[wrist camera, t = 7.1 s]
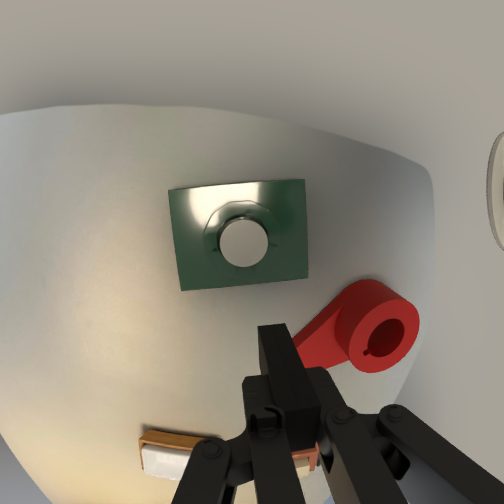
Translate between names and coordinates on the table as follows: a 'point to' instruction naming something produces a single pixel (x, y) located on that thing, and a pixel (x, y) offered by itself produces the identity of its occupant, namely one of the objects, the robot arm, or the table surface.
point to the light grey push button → (243, 242)
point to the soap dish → (165, 453)
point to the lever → (360, 329)
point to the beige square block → (302, 467)
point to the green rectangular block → (230, 207)
